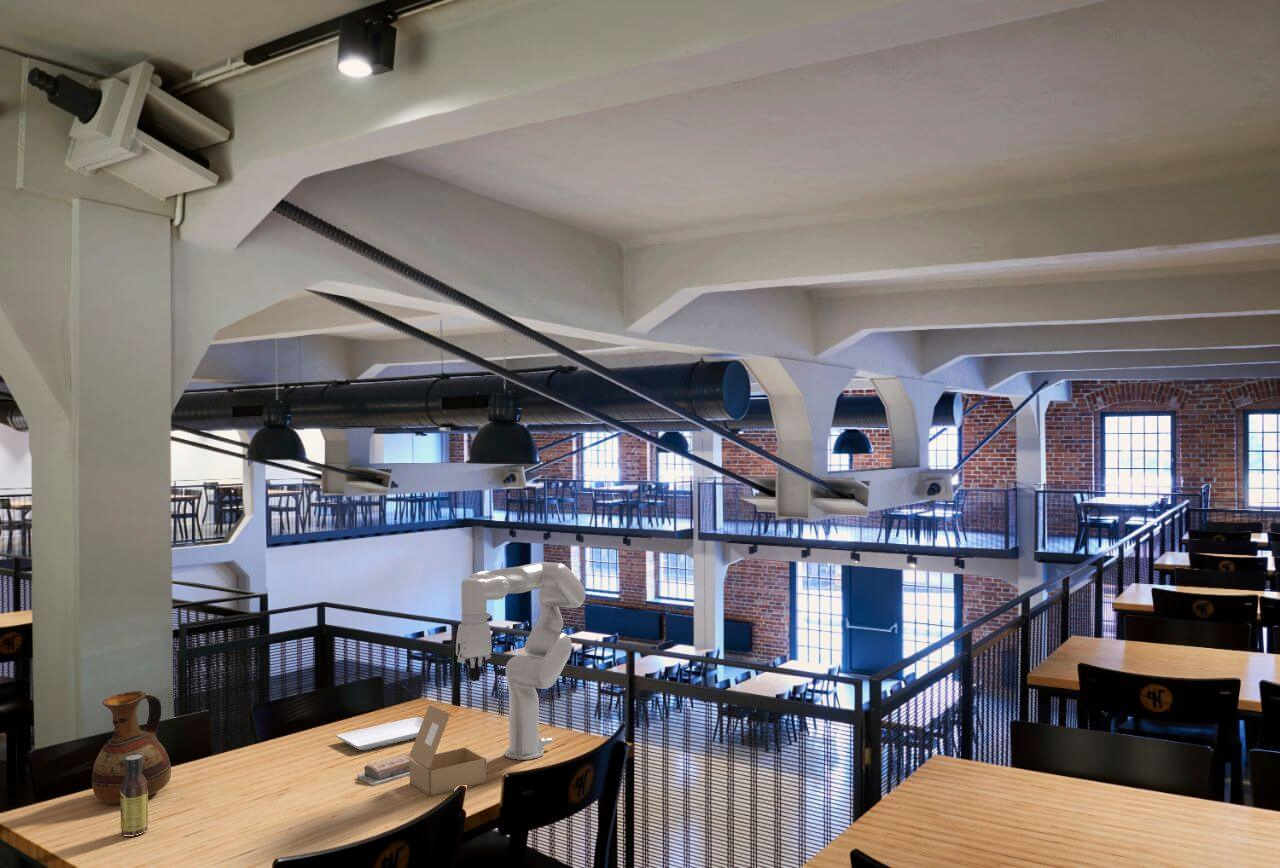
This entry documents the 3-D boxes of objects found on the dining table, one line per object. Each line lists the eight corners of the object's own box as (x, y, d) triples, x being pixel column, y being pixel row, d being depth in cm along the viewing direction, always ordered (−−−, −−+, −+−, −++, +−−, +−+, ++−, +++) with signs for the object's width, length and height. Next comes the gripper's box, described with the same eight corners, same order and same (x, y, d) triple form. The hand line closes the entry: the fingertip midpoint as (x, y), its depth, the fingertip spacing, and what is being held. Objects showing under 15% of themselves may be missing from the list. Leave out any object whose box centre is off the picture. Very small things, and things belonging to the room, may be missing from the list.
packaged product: (408, 749, 294) (426, 756, 287) (408, 765, 293) (426, 772, 287) (356, 763, 281) (373, 771, 274) (356, 779, 281) (373, 787, 274)
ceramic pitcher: (75, 804, 262) (75, 697, 263) (136, 781, 281) (136, 681, 282) (127, 812, 255) (127, 703, 256) (186, 788, 274) (186, 685, 275)
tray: (442, 736, 324) (442, 725, 324) (356, 756, 303) (356, 745, 303) (418, 726, 336) (418, 716, 336) (334, 744, 315) (334, 734, 315)
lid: (434, 706, 281) (429, 704, 280) (454, 715, 270) (448, 714, 269) (414, 757, 276) (408, 756, 275) (433, 769, 265) (427, 768, 264)
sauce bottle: (127, 829, 244) (127, 752, 244) (152, 827, 244) (152, 751, 245) (115, 839, 237) (115, 760, 238) (141, 838, 238) (141, 759, 238)
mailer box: (465, 770, 286) (465, 747, 286) (486, 782, 275) (486, 758, 275) (409, 783, 276) (409, 759, 276) (429, 796, 264) (429, 771, 264)
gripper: (490, 614, 289) (490, 674, 289) (445, 620, 280) (446, 681, 280) (502, 618, 283) (502, 678, 283) (456, 623, 274) (457, 686, 274)
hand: (474, 680), depth 281 cm, fingers closed
